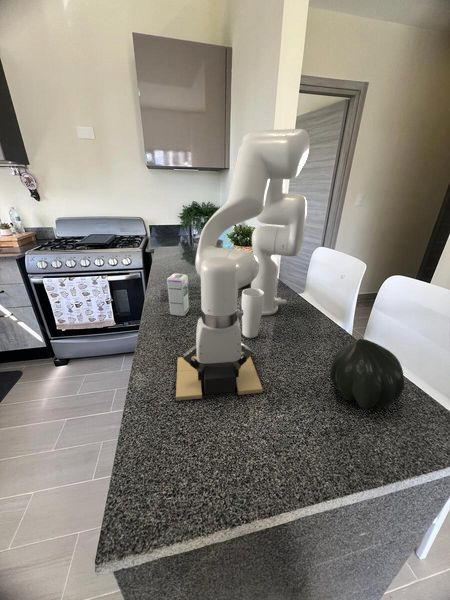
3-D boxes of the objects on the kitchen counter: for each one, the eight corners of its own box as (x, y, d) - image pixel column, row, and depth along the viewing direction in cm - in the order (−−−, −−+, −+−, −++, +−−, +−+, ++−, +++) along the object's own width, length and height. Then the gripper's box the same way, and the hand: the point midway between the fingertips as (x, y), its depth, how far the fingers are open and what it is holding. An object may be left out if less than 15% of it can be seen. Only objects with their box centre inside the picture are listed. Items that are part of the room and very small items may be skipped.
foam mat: (248, 355, 72) (249, 352, 71) (262, 392, 59) (262, 388, 59) (177, 361, 69) (177, 357, 68) (176, 400, 56) (176, 396, 56)
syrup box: (184, 316, 92) (182, 279, 86) (169, 314, 93) (166, 277, 87) (189, 309, 97) (188, 274, 91) (175, 307, 98) (172, 272, 92)
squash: (432, 401, 51) (404, 329, 54) (372, 420, 47) (346, 341, 51) (378, 396, 64) (358, 338, 68) (328, 410, 60) (310, 348, 64)
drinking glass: (246, 342, 78) (249, 298, 71) (235, 331, 83) (237, 290, 77) (264, 336, 81) (269, 294, 74) (252, 327, 86) (256, 286, 80)
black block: (230, 371, 65) (230, 357, 63) (234, 391, 59) (235, 376, 57) (202, 373, 64) (202, 359, 62) (204, 394, 58) (204, 379, 56)
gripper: (254, 306, 58) (249, 367, 65) (178, 309, 56) (182, 372, 63) (263, 322, 51) (256, 388, 59) (177, 327, 49) (181, 395, 56)
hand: (218, 379), depth 61 cm, fingers closed on black block, 7 cm apart
